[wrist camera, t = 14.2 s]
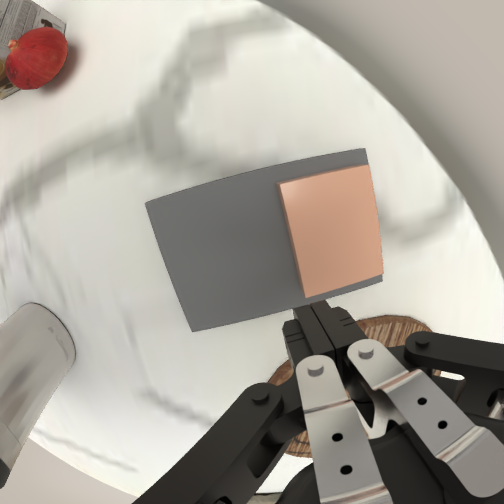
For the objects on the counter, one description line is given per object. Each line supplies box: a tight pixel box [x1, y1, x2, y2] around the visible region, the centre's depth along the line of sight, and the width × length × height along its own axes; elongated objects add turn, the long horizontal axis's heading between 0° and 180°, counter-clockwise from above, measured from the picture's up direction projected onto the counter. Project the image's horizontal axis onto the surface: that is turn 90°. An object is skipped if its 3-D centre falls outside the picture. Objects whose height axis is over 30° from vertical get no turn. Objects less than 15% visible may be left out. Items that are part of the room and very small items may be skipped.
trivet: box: [267, 315, 441, 458], centre depth 29 cm, size 25×25×2 cm
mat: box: [145, 148, 382, 332], centre depth 22 cm, size 18×12×1 cm, turn 104°
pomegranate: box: [5, 27, 68, 90], centre depth 12 cm, size 6×6×8 cm
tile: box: [276, 164, 384, 298], centre depth 21 cm, size 9×2×7 cm
